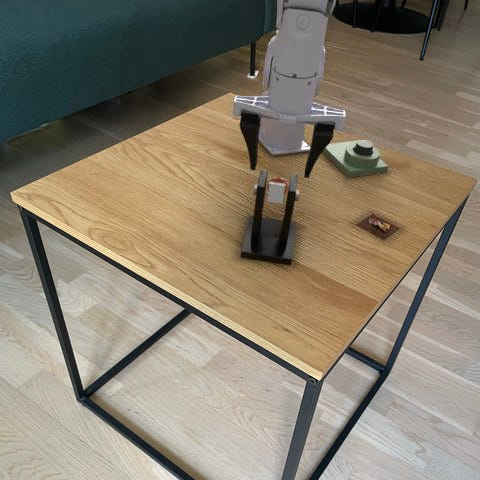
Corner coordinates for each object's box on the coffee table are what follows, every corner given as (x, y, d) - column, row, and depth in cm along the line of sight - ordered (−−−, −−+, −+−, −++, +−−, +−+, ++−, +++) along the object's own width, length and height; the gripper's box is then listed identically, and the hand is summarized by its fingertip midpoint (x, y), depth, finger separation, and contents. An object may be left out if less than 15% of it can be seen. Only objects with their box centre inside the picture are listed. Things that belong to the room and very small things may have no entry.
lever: (266, 195, 75) (269, 174, 74) (286, 198, 75) (289, 177, 74) (262, 203, 65) (266, 180, 63) (285, 207, 64) (289, 183, 63)
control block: (320, 150, 92) (323, 135, 90) (357, 146, 94) (361, 130, 92) (348, 177, 86) (352, 161, 84) (386, 172, 88) (391, 156, 86)
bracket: (248, 220, 74) (255, 160, 67) (295, 227, 74) (306, 167, 67) (240, 257, 68) (246, 194, 61) (291, 265, 68) (303, 202, 61)
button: (350, 149, 87) (353, 140, 86) (365, 148, 88) (367, 138, 87) (359, 157, 86) (362, 148, 84) (374, 156, 86) (377, 146, 85)
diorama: (382, 235, 74) (386, 223, 73) (361, 224, 76) (365, 212, 74) (392, 228, 76) (396, 216, 74) (372, 217, 78) (376, 205, 76)
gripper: (232, 73, 59) (225, 177, 68) (354, 89, 58) (330, 192, 68) (240, 54, 64) (233, 153, 73) (353, 69, 63) (330, 167, 73)
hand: (280, 170), depth 71 cm, fingers open, 7 cm apart
